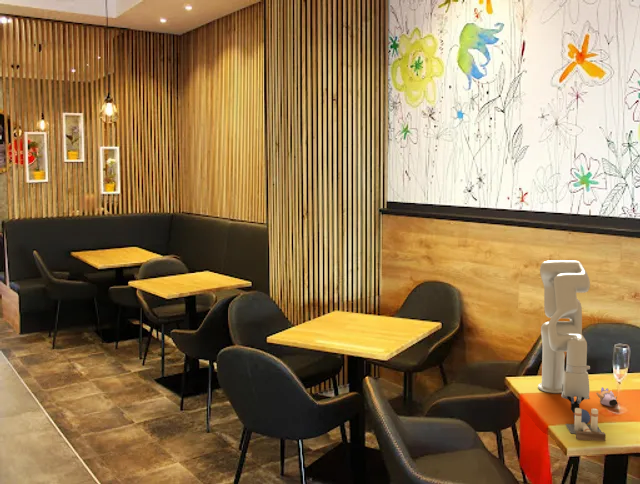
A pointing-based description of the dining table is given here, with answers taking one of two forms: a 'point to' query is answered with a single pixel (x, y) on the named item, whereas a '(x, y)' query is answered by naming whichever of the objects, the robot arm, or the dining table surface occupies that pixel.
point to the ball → (584, 416)
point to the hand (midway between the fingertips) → (574, 412)
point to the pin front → (585, 427)
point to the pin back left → (594, 420)
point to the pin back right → (577, 419)
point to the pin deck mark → (571, 429)
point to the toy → (607, 397)
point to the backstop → (590, 435)
